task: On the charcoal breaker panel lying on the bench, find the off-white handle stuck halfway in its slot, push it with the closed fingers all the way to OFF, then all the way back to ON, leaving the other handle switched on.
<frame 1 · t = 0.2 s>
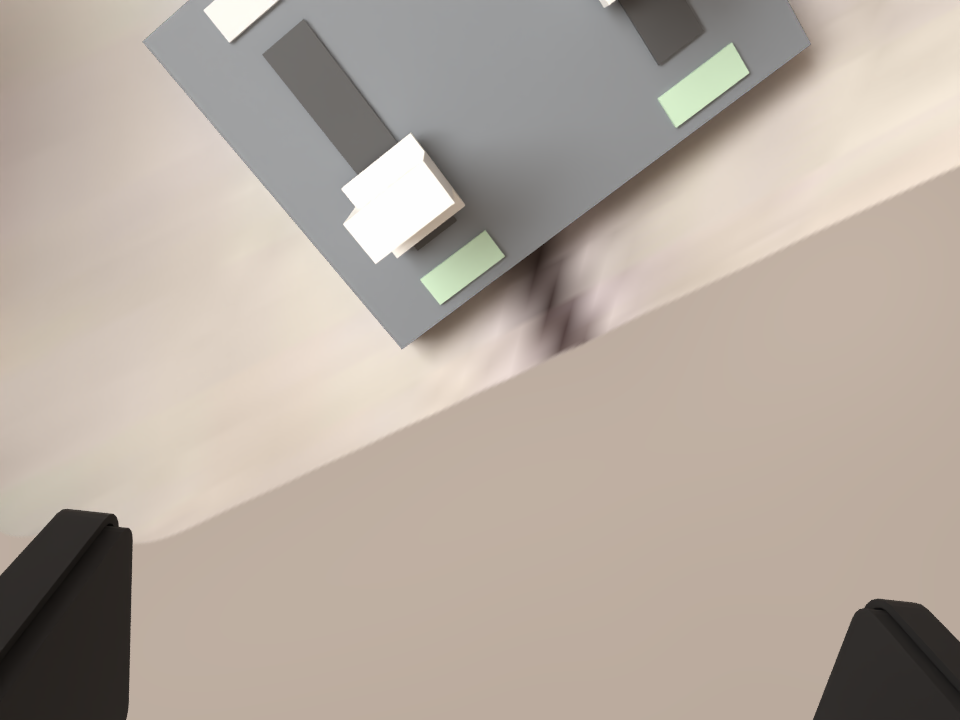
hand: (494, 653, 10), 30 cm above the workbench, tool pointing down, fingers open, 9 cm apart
breaker panel: (482, 45, 35), on the workbench
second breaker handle: (401, 203, 32), point 6 cm above the workbench, slide at 6.0 cm
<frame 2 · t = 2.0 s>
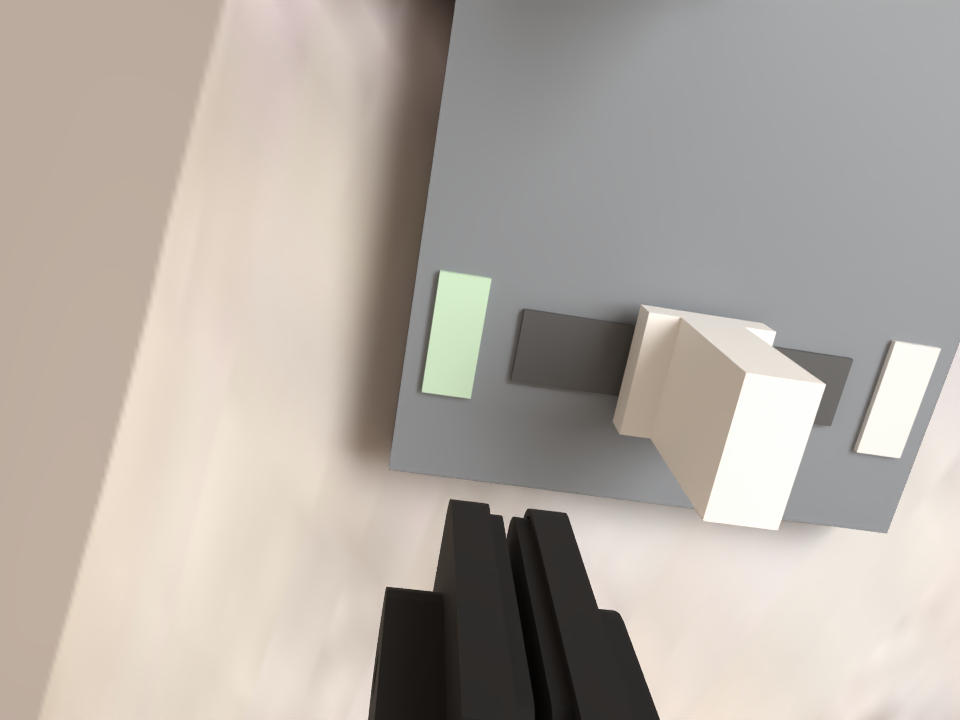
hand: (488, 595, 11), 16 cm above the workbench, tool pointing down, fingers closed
breaker panel: (716, 146, 24), on the workbench
tripped breaker handle: (719, 408, 21), point 5 cm above the workbench, slide at 3.0 cm
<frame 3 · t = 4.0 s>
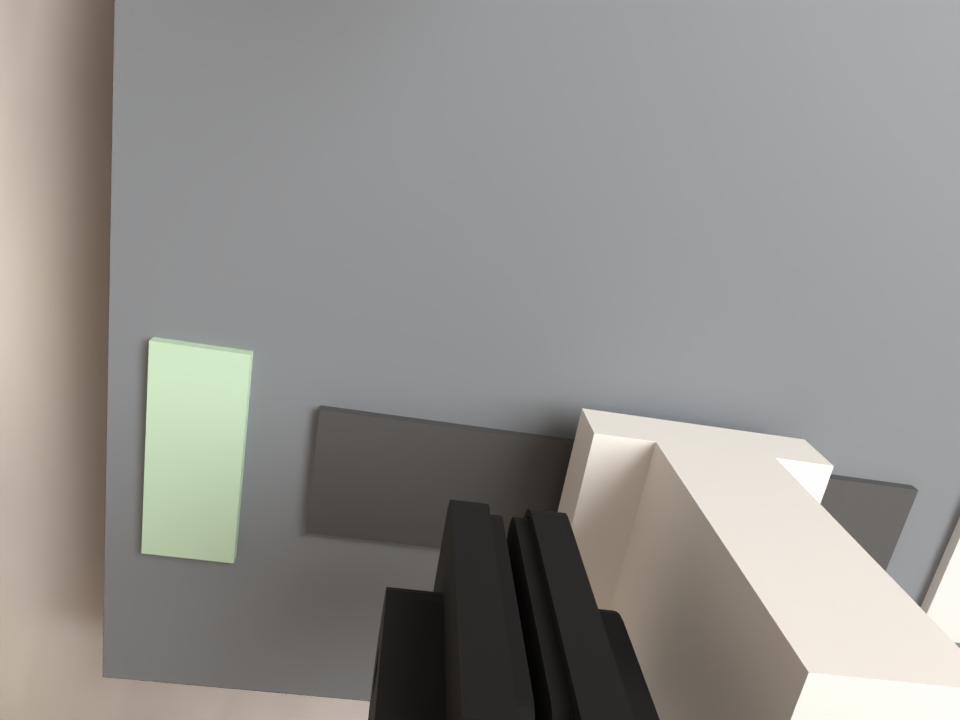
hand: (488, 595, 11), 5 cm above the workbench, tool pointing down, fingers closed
breaker panel: (678, 109, 13), on the workbench
tripped breaker handle: (729, 639, 11), point 5 cm above the workbench, slide at 2.2 cm, touching gripper
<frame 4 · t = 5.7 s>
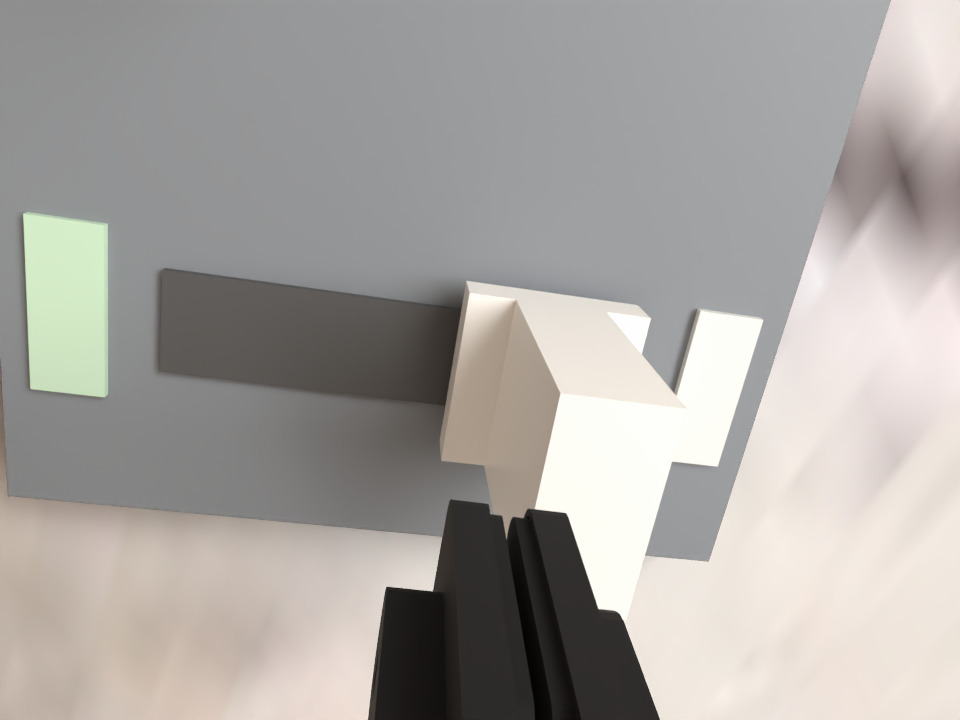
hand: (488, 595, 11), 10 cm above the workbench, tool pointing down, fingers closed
breaker panel: (448, 35, 17), on the workbench
tripped breaker handle: (560, 431, 15), point 5 cm above the workbench, slide at -0.1 cm
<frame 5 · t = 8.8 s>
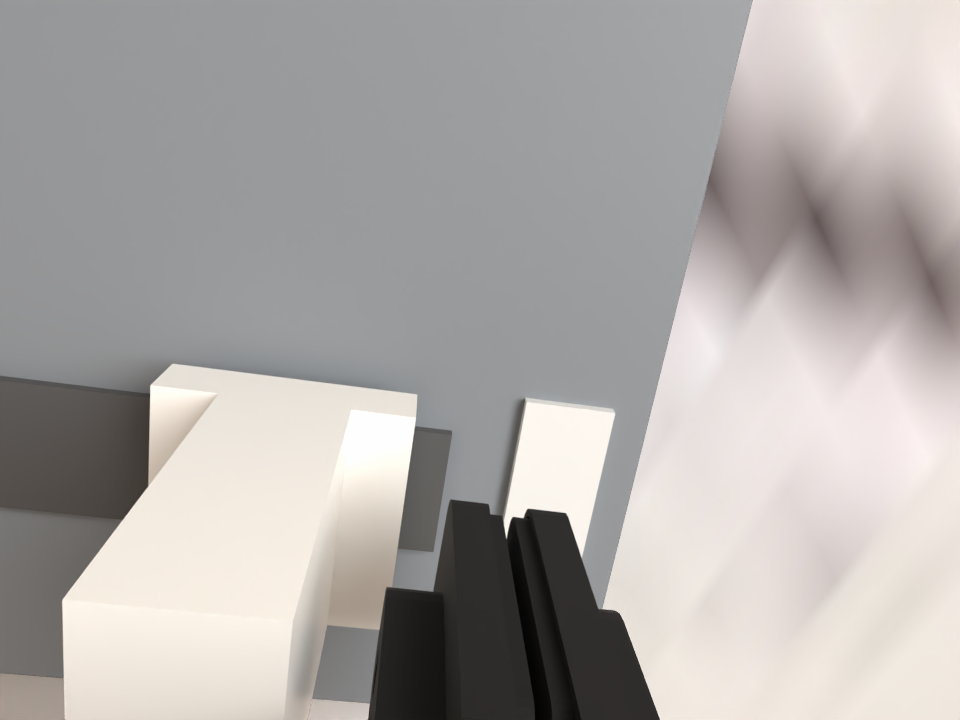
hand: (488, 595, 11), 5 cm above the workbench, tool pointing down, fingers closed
breaker panel: (182, 39, 13), on the workbench
tripped breaker handle: (246, 592, 10), point 5 cm above the workbench, slide at 0.2 cm, touching gripper
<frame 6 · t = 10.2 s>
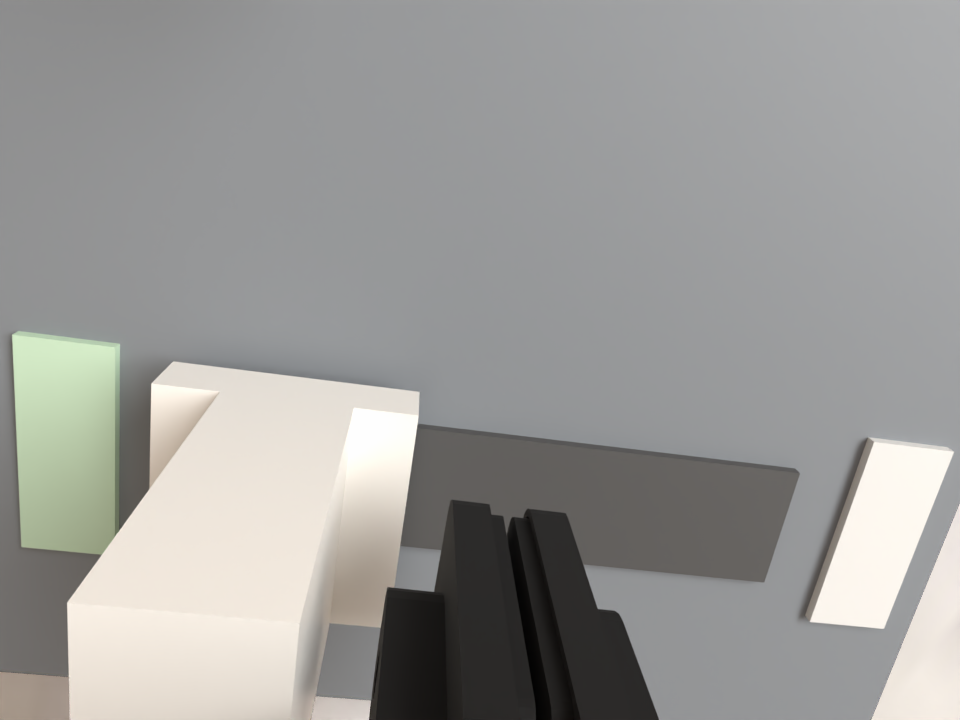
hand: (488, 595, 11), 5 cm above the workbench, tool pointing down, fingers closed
breaker panel: (550, 96, 13), on the workbench
tripped breaker handle: (249, 592, 10), point 6 cm above the workbench, slide at 6.7 cm, touching gripper
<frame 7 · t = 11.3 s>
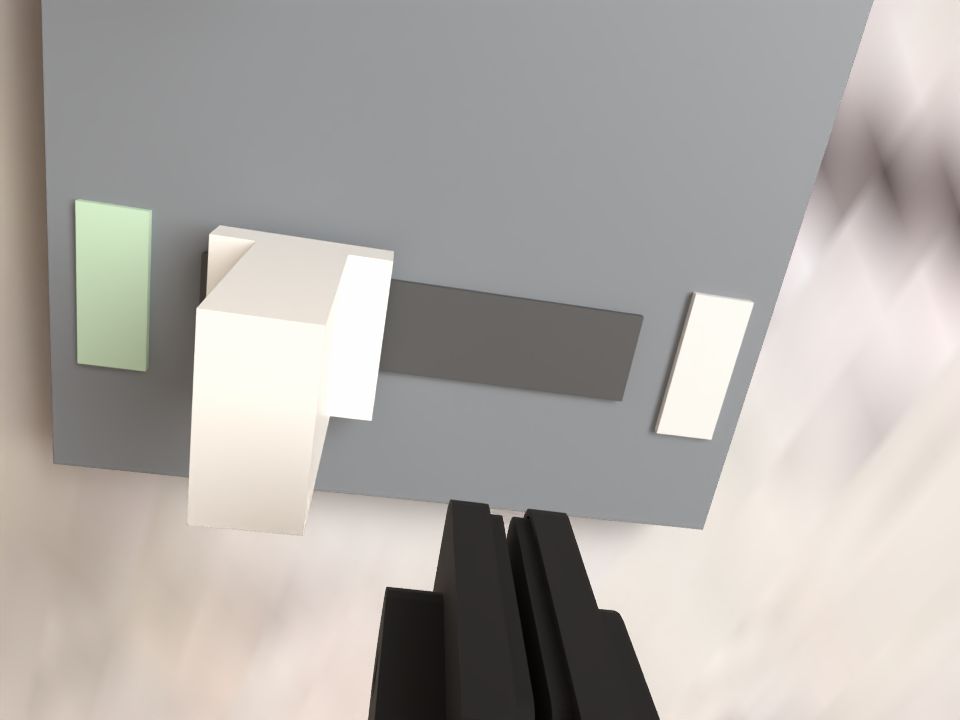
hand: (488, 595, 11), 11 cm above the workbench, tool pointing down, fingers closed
breaker panel: (464, 38, 18), on the workbench
tripped breaker handle: (281, 364, 15), point 5 cm above the workbench, slide at 6.1 cm
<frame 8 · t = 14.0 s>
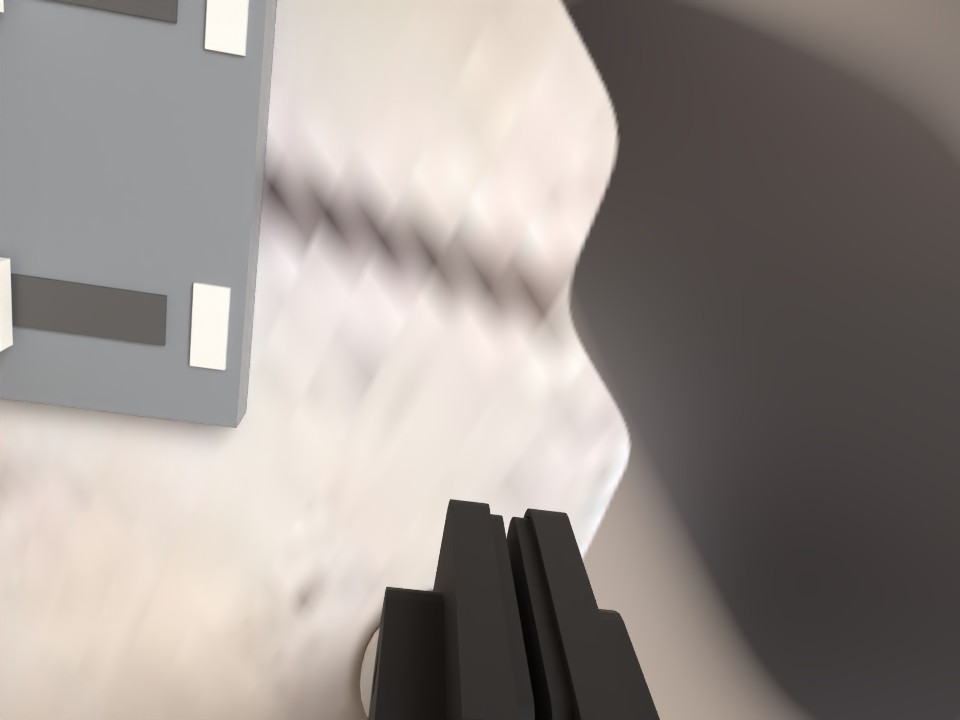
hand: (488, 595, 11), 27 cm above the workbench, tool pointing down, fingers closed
breaker panel: (60, 142, 34), on the workbench
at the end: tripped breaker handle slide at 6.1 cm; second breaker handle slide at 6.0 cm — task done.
